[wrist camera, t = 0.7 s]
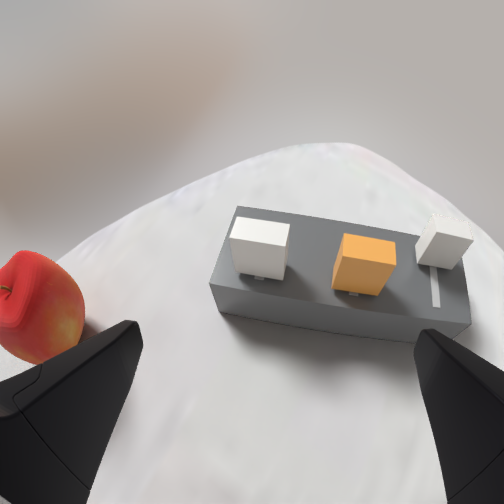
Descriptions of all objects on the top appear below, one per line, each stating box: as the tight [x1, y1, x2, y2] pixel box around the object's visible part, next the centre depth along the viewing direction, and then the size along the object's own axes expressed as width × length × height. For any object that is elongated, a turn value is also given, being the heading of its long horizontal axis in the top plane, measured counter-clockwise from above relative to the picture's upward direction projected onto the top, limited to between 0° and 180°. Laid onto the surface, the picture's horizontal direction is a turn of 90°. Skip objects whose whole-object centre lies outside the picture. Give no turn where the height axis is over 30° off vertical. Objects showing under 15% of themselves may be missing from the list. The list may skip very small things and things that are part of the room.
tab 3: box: [415, 214, 474, 270], centre depth 20 cm, size 2×4×4 cm, turn 77°
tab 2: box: [331, 233, 396, 296], centre depth 19 cm, size 2×4×4 cm, turn 77°
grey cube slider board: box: [209, 206, 471, 343], centre depth 24 cm, size 8×21×5 cm, turn 77°
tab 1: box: [229, 217, 290, 280], centre depth 20 cm, size 2×4×4 cm, turn 77°
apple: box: [0, 251, 85, 365], centre depth 21 cm, size 10×10×10 cm
